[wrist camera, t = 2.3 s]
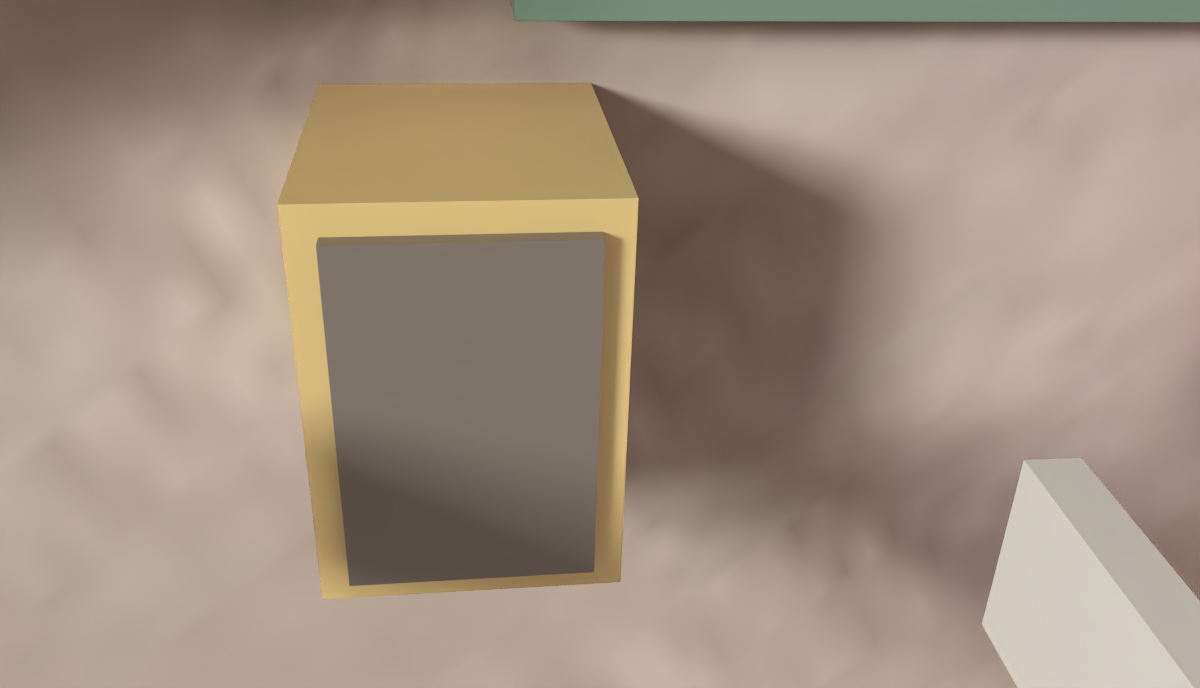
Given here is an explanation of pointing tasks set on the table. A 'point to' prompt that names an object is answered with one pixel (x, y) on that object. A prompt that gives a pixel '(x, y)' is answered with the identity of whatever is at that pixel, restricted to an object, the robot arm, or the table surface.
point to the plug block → (461, 334)
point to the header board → (860, 10)
